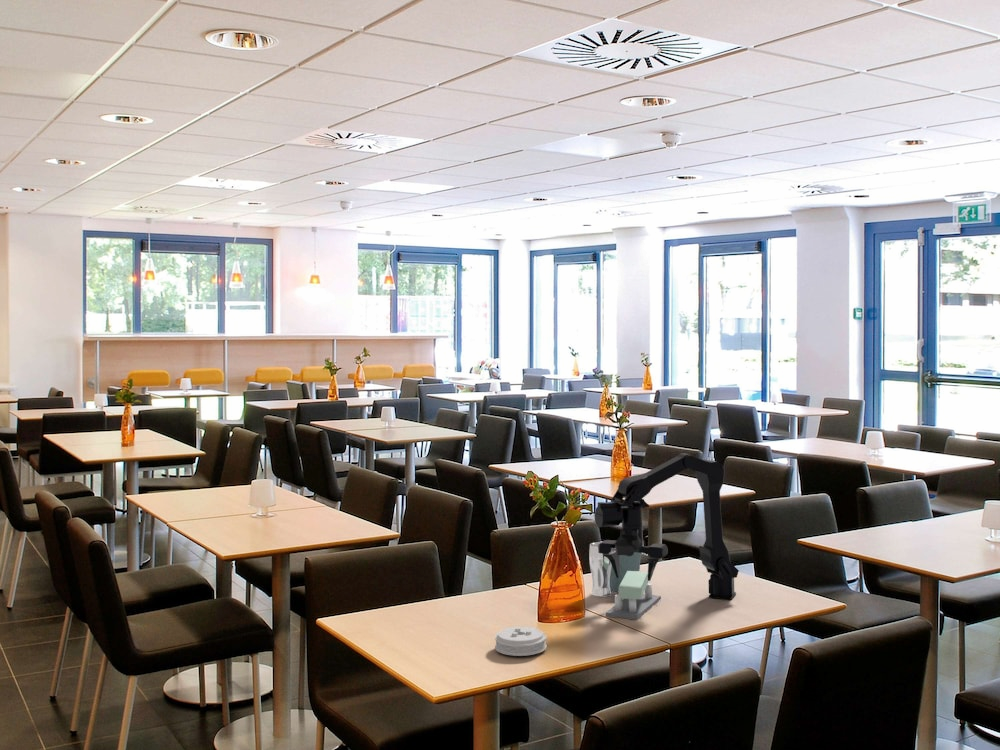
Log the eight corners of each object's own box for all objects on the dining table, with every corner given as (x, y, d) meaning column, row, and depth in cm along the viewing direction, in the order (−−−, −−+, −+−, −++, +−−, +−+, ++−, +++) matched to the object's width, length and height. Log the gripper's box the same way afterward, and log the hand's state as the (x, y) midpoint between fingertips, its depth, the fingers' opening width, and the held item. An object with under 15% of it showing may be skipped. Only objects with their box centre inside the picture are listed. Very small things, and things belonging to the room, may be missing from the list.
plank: (648, 581, 267) (648, 571, 267) (640, 599, 250) (640, 588, 250) (627, 581, 269) (627, 570, 269) (618, 598, 251) (618, 587, 251)
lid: (554, 655, 222) (553, 635, 222) (503, 662, 219) (503, 641, 219) (536, 640, 235) (536, 620, 234) (489, 646, 231) (488, 626, 231)
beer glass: (615, 597, 270) (613, 546, 269) (591, 598, 270) (589, 547, 269) (612, 591, 277) (611, 541, 276) (589, 591, 277) (588, 542, 276)
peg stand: (660, 599, 267) (660, 582, 267) (637, 619, 248) (636, 601, 248) (631, 596, 271) (630, 579, 271) (605, 616, 252) (605, 597, 252)
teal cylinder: (605, 584, 284) (604, 546, 284) (637, 583, 285) (636, 544, 285) (612, 593, 274) (611, 553, 274) (645, 591, 275) (644, 551, 275)
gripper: (590, 527, 256) (591, 583, 256) (655, 532, 247) (656, 589, 248) (604, 519, 266) (606, 573, 266) (667, 524, 257) (669, 579, 258)
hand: (633, 579), depth 259 cm, fingers open, 9 cm apart
